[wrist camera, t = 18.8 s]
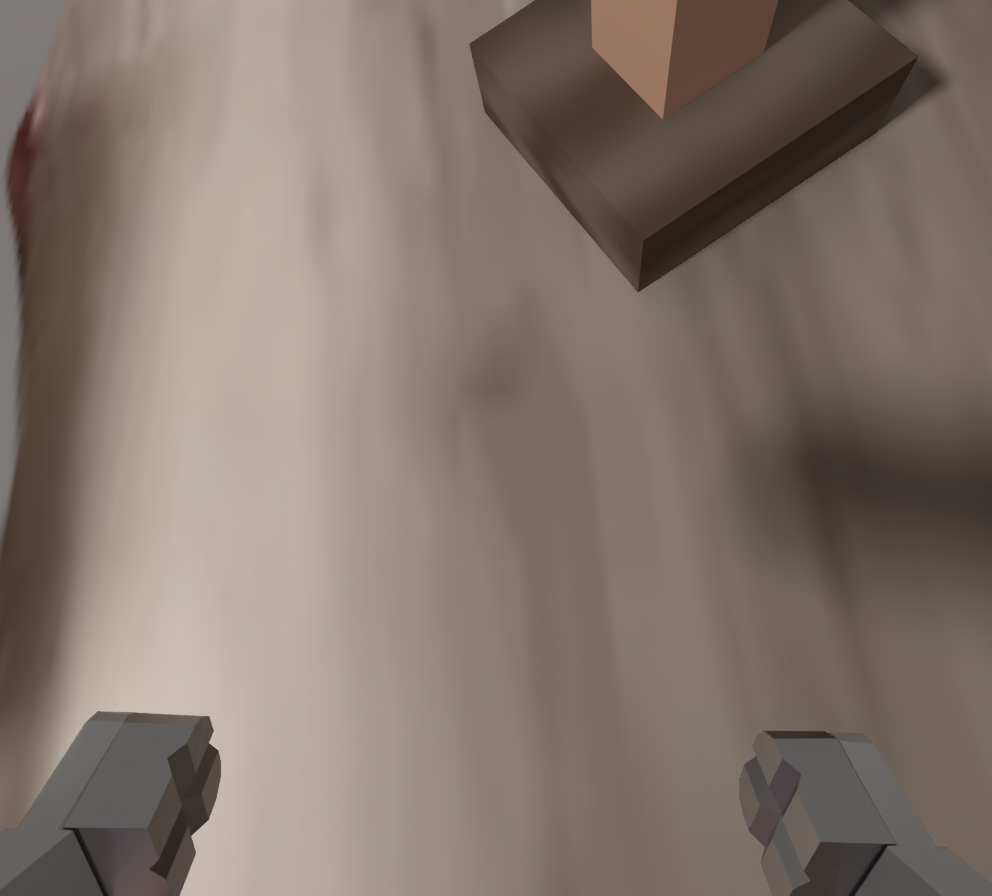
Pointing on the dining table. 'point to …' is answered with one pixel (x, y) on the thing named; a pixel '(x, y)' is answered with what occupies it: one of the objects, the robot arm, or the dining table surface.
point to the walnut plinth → (684, 124)
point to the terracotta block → (678, 44)
